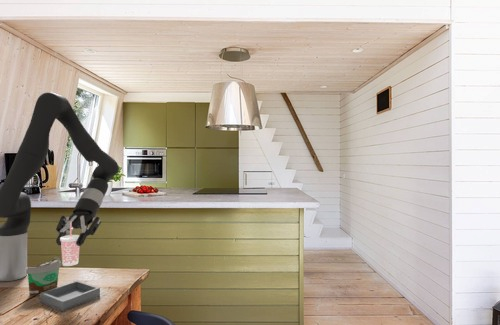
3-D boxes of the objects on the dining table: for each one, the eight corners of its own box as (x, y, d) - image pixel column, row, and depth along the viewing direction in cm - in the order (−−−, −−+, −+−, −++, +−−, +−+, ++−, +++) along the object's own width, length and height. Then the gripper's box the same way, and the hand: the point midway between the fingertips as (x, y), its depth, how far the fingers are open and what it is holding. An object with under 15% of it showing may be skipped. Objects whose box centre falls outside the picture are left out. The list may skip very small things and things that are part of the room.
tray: (40, 302, 103) (40, 293, 103) (77, 288, 114) (77, 280, 114) (63, 311, 97) (63, 301, 97) (99, 296, 108) (99, 287, 108)
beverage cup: (55, 267, 102) (56, 223, 102) (65, 260, 108) (66, 220, 108) (75, 266, 102) (75, 223, 102) (84, 260, 108) (84, 220, 108)
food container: (41, 299, 105) (41, 269, 105) (25, 297, 107) (26, 267, 107) (69, 284, 117) (69, 258, 117) (55, 283, 119) (55, 256, 119)
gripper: (65, 196, 113) (41, 237, 102) (104, 197, 112) (84, 239, 101) (75, 209, 119) (52, 249, 107) (112, 210, 118) (93, 251, 106)
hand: (68, 244), depth 104 cm, fingers closed on beverage cup, 6 cm apart
